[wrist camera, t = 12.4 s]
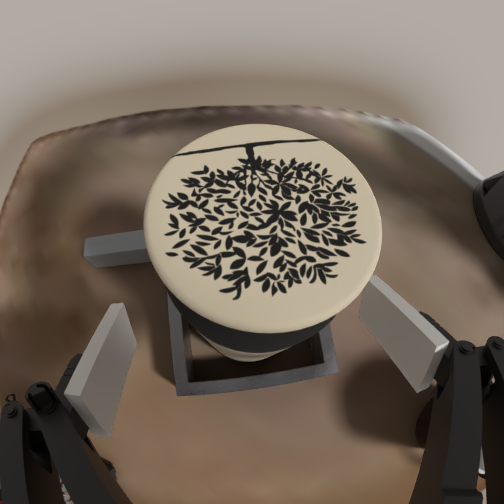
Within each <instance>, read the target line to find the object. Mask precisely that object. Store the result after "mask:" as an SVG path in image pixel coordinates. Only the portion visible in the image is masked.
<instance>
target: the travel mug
mask: <svg viewBox="0 0 504 504" xmlns="http://www.w3.org/2000/svg"><path fill="white" fill-rule="evenodd" d="M143 227H144V238H145V243H146V248H147V251H148V254H149V257H150V260H151V262H152V264H153V266H154V268H155V270H156V272H157V273H158V275H159V277H160V278H161V280H162V281H163V283H164V284H165V287H166V290H167V292H168V294H169V297H170V299H171V300H172V302H173V304H174V306H175V307H176V308H177V310H178V311H179V312H180V314H181V315H182V316H183V317H184V318H185V319H186V320H187V322H188V323H189V324H190V325H191V326H193V327H194V328H195V329H196V330H197V331H198V332H199V333H200V334H201V335H202V336H203V337H204V338H205V339H206V340H207V341H208V342H209V343H210V344H211V345H212V346H213V347H214V348H216V349H217V350H218V351H219V352H220V353H222V354H223V355H225V356H226V357H228V358H231V359H234V360H237V361H243V362H253V361H259V360H262V359H265V358H267V357H270V356H272V355H274V354H276V353H279V352H281V351H283V350H285V349H288V348H290V347H292V346H294V345H296V344H298V343H300V342H302V341H304V340H307V339H308V338H310V337H312V336H313V335H315V334H317V333H318V332H319V331H320V330H322V329H323V328H324V327H325V326H326V325H327V324H328V323H330V322H331V321H332V319H333V318H334V317H335V316H336V315H337V313H339V312H340V311H341V310H343V309H344V308H345V307H347V306H348V305H349V304H350V303H351V302H352V301H353V300H354V299H355V298H356V297H357V296H358V295H359V294H360V292H361V291H362V290H363V289H364V287H365V286H366V284H367V283H368V281H369V280H370V278H371V276H372V274H373V272H374V270H375V267H376V264H377V262H378V259H379V254H380V250H381V242H382V225H381V217H380V213H379V208H378V205H377V202H376V199H375V197H374V195H373V192H372V190H371V188H370V186H369V185H368V183H367V181H366V180H365V178H364V177H363V175H362V174H361V173H360V171H359V170H358V169H357V168H356V167H355V166H354V164H353V163H352V162H351V161H350V160H349V159H348V158H346V157H345V156H344V155H343V154H342V153H341V152H339V151H338V150H337V149H335V148H334V147H332V146H331V145H329V144H328V143H326V142H324V141H322V140H321V139H319V138H317V137H315V136H312V135H310V134H308V133H305V132H302V131H299V130H296V129H292V128H288V127H284V126H278V125H270V124H245V125H237V126H231V127H227V128H223V129H219V130H216V131H213V132H211V133H208V134H206V135H204V136H201V137H199V138H197V139H196V140H194V141H192V142H191V143H189V144H188V145H186V146H185V147H183V148H182V149H181V150H179V151H178V152H177V153H176V154H175V155H174V156H173V157H172V158H171V159H170V160H169V161H168V162H167V163H166V164H165V166H164V167H163V168H162V169H161V171H160V172H159V174H158V175H157V177H156V179H155V181H154V182H153V184H152V186H151V189H150V191H149V194H148V197H147V201H146V204H145V210H144V222H143Z"/></svg>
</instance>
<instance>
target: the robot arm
mask: <svg viewBox="0 0 504 504" xmlns="http://www.w3.org/2000/svg"><path fill="white" fill-rule="evenodd" d="M473 200H474V207H475V211H476V214H477V217H478V220H479V223H480V225H481V227H482V229H483V231H484V233H485V235H486V237H487V239H488V240H489V242H490V243H491V245H492V246H493V248H494V249H495V250H496V252H497V253H498V254H499V255H500V256H501V257H502V258H503V259H504V171H502V172H500V173H498V174H496V175H493V176H492V177H489V178H487V179H485V180H483V181H482V182H481V183H480V184H479V185H478V186H477V187H476V189H475V191H474V195H473ZM359 319H360V320H361V321H362V322H363V324H364V325H365V326H366V327H367V329H368V330H369V331H370V332H371V334H372V335H373V336H374V337H375V339H376V340H377V341H378V342H379V344H380V345H381V346H382V348H383V349H384V350H385V351H386V353H387V354H388V355H389V357H390V358H391V359H392V361H393V362H394V363H395V364H396V366H397V367H398V368H399V370H400V371H401V372H402V374H403V375H404V376H405V378H406V379H407V380H408V382H409V383H410V384H411V386H412V387H413V388H414V390H415V391H416V393H418V392H420V391H422V390H424V389H427V388H429V386H430V384H431V382H432V380H433V378H434V379H435V380H436V382H437V384H436V386H435V388H434V390H433V392H432V394H431V395H430V398H429V399H432V397H433V395H434V399H433V407H432V414H431V420H430V426H429V431H428V436H427V441H426V446H425V450H424V455H423V459H422V463H421V466H420V470H419V474H418V477H417V480H416V484H415V487H414V490H413V493H412V496H411V499H410V502H409V504H482V501H483V495H482V493H481V492H479V491H477V489H476V487H477V480H478V473H479V465H480V455H481V447H482V453H483V461H484V469H485V480H486V497H487V504H504V340H503V339H502V338H500V337H497V336H492V337H490V338H488V340H487V342H486V345H485V346H481V347H476V346H475V345H474V344H472V343H471V342H468V341H458V342H457V341H456V340H455V339H454V338H453V337H452V336H451V335H450V334H449V333H448V332H447V331H446V330H445V329H443V328H442V327H440V325H439V324H438V323H437V322H435V320H434V319H432V318H431V317H430V316H429V315H427V314H425V313H423V312H417V311H416V310H415V309H414V308H413V307H412V306H411V305H410V304H409V303H407V302H406V301H405V300H404V299H403V298H402V297H401V296H400V295H398V294H397V293H396V292H395V291H394V290H393V289H392V288H390V287H389V286H388V285H387V284H386V283H385V282H383V281H382V280H381V279H380V278H379V277H378V276H376V275H372V276H371V278H370V280H369V281H368V283H367V284H366V286H365V287H364V289H363V292H362V300H361V306H360V313H359ZM136 346H137V342H136V339H135V336H134V334H133V331H132V328H131V324H130V321H129V318H128V315H127V312H126V309H125V305H124V303H113V304H111V305H110V307H109V308H108V310H107V312H106V313H105V315H104V317H103V319H102V320H101V322H100V324H99V326H98V328H97V329H96V331H95V333H94V335H93V337H92V338H91V340H90V342H89V344H88V346H87V348H86V350H85V352H84V353H83V354H77V355H76V356H75V357H74V358H73V359H72V360H71V361H70V362H69V364H68V366H67V370H65V372H64V376H62V378H61V380H60V382H59V384H58V386H57V388H56V390H55V392H54V390H53V389H52V387H51V386H50V384H49V383H47V382H38V383H35V384H33V385H32V386H31V387H30V388H29V389H28V390H27V392H26V400H27V402H28V403H29V404H30V406H31V407H32V408H30V409H24V408H23V406H22V405H21V404H20V402H18V401H11V402H8V403H7V404H6V405H5V406H4V407H3V409H2V411H1V418H0V486H1V496H2V504H65V500H64V496H63V492H62V488H61V483H60V479H59V476H60V478H61V480H62V482H63V484H64V486H65V488H66V490H67V492H68V494H69V496H70V498H71V500H72V502H73V504H133V503H132V502H131V501H130V500H129V498H128V497H127V496H126V494H125V493H124V492H123V490H122V489H121V488H120V486H119V485H118V483H117V482H116V480H115V479H114V478H113V476H112V475H111V473H110V472H109V470H108V469H107V467H106V465H105V464H104V462H103V461H102V459H101V457H100V456H99V454H98V452H97V451H96V449H95V447H94V446H93V444H92V442H91V440H90V439H89V437H88V436H87V432H88V429H90V431H91V432H92V433H93V434H94V436H98V437H106V438H110V436H111V432H112V428H113V424H114V420H115V416H116V412H117V409H118V405H119V401H120V398H121V394H122V391H123V387H124V384H125V381H126V377H127V374H128V371H129V367H130V364H131V361H132V358H133V355H134V352H135V349H136ZM493 377H494V378H495V382H494V384H493V383H492V378H493Z"/></svg>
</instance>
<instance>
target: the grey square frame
mask: <svg viewBox="0 0 504 504" xmlns="http://www.w3.org/2000/svg"><path fill="white" fill-rule="evenodd" d="M167 296H168V313H169V327H170V339H171V350H172V360H173V369H174V377H175V385H176V392H177V396H190V395H204V394H216V393H226V392H235V391H243V390H251V389H258V388H264V387H270V386H276V385H282V384H288V383H293V382H298V381H303V380H308V379H312V378H317V377H321V376H325V375H330V374H334V373H338V366H337V360H336V355H335V349H334V344H333V339H332V334H331V329H330V324H329V323H328V324H327V325H326V326H325V327H324V328H323V329H322V330H320V331H319V332H318V333H317V334H315V335H313V336H312V337H310V338H309V344H310V349H311V355H312V360H313V365H308V366H303V367H298V368H293V369H288V370H282V371H276V372H270V373H264V374H257V375H250V376H243V377H235V378H226V379H216V380H205V381H195V376H194V368H193V360H192V351H191V342H190V332H189V323H188V322H187V320H186V319H185V318H184V317H183V316H182V315H181V314H180V312H179V311H178V310H177V308H176V307H175V306H174V304H173V302H172V300H171V299H170V297H169V294H168V292H167Z"/></svg>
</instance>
